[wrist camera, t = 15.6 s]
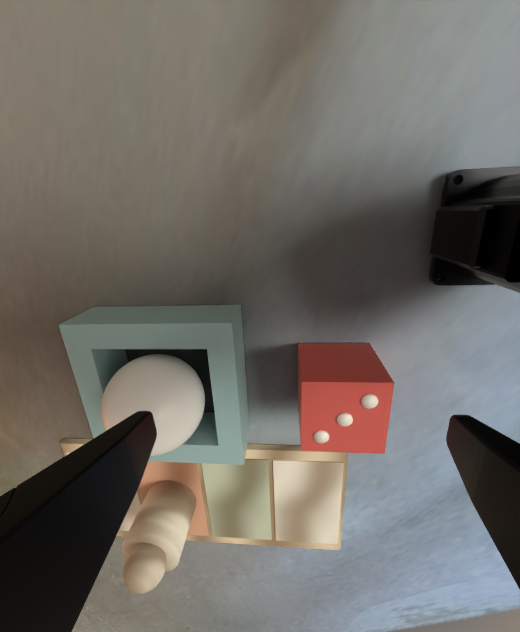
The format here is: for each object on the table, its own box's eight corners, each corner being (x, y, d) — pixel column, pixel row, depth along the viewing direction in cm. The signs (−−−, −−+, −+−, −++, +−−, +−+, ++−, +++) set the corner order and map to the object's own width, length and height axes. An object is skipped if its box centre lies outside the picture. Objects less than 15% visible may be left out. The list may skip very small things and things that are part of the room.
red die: (369, 342, 20) (394, 383, 15) (363, 401, 22) (384, 454, 17) (298, 343, 21) (301, 382, 16) (297, 400, 22) (301, 451, 18)
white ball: (210, 338, 21) (178, 390, 15) (218, 411, 23) (194, 483, 17) (125, 338, 21) (62, 389, 15) (141, 409, 23) (91, 478, 17)
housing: (240, 304, 20) (231, 322, 17) (249, 429, 24) (243, 464, 21) (93, 306, 21) (58, 324, 18) (124, 426, 25) (100, 459, 22)
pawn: (193, 481, 26) (161, 572, 19) (199, 517, 27) (172, 612, 21) (144, 479, 26) (97, 568, 20) (152, 514, 28) (112, 607, 21)
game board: (346, 446, 24) (348, 453, 23) (339, 543, 28) (340, 551, 27) (65, 438, 26) (59, 444, 25) (96, 528, 30) (92, 535, 29)
